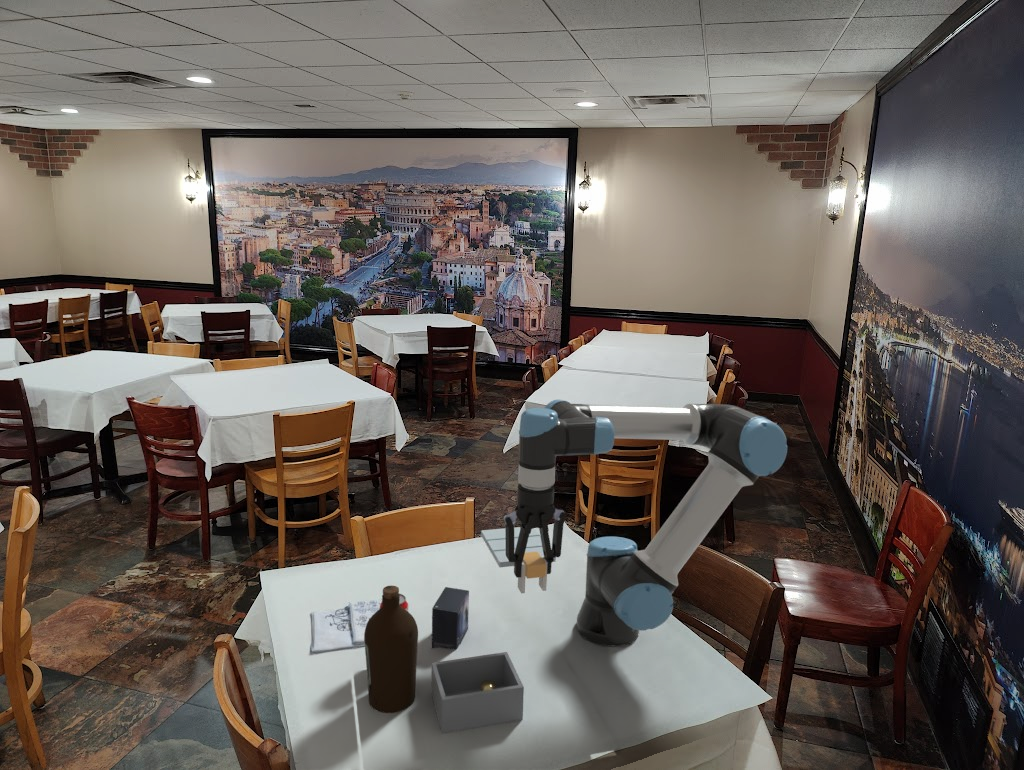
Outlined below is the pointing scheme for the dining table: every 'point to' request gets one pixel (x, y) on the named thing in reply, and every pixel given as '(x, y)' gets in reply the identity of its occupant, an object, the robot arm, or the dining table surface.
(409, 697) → the brown tall rounded piece
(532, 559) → the lid
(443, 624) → the small box
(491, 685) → the part
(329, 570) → the dining table surface
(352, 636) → the white printed cloths
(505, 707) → the tub
